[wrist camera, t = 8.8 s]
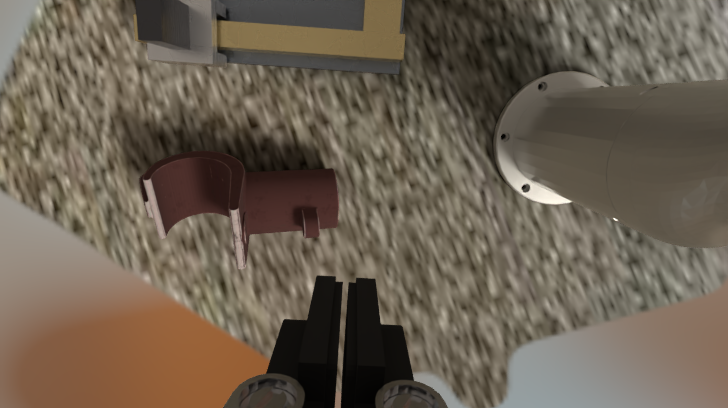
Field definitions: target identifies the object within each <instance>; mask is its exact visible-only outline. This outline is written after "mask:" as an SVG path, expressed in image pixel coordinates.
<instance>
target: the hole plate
mask: <svg viewBox="0 0 728 408" xmlns="http://www.w3.org/2000/svg"><path fill="white" fill-rule="evenodd" d="M218 1H220V2H221V3H222V4H224V5H225V6H226V19H224V18H217V20H220V21H233V22H247V23H260V24H274V25H288V26H301V27H315V28H328V29H342V30H355V31H363V18H364V1H365V0H218ZM404 6H405V0H402V9H401V21H400V34H402V31H403V18H404ZM217 52H218V53H220V54H223V55H226V56H227V63H234V64H249V65H263V66H277V67H292V68H306V69H321V70H335V71H350V72H364V73H379V74H393V75H398V74H399V68H400V62H386V61H372V60H358V59H343V58H329V57H315V56H301V55H287V54H273V53H258V52H244V51H230V50H217Z"/></svg>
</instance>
